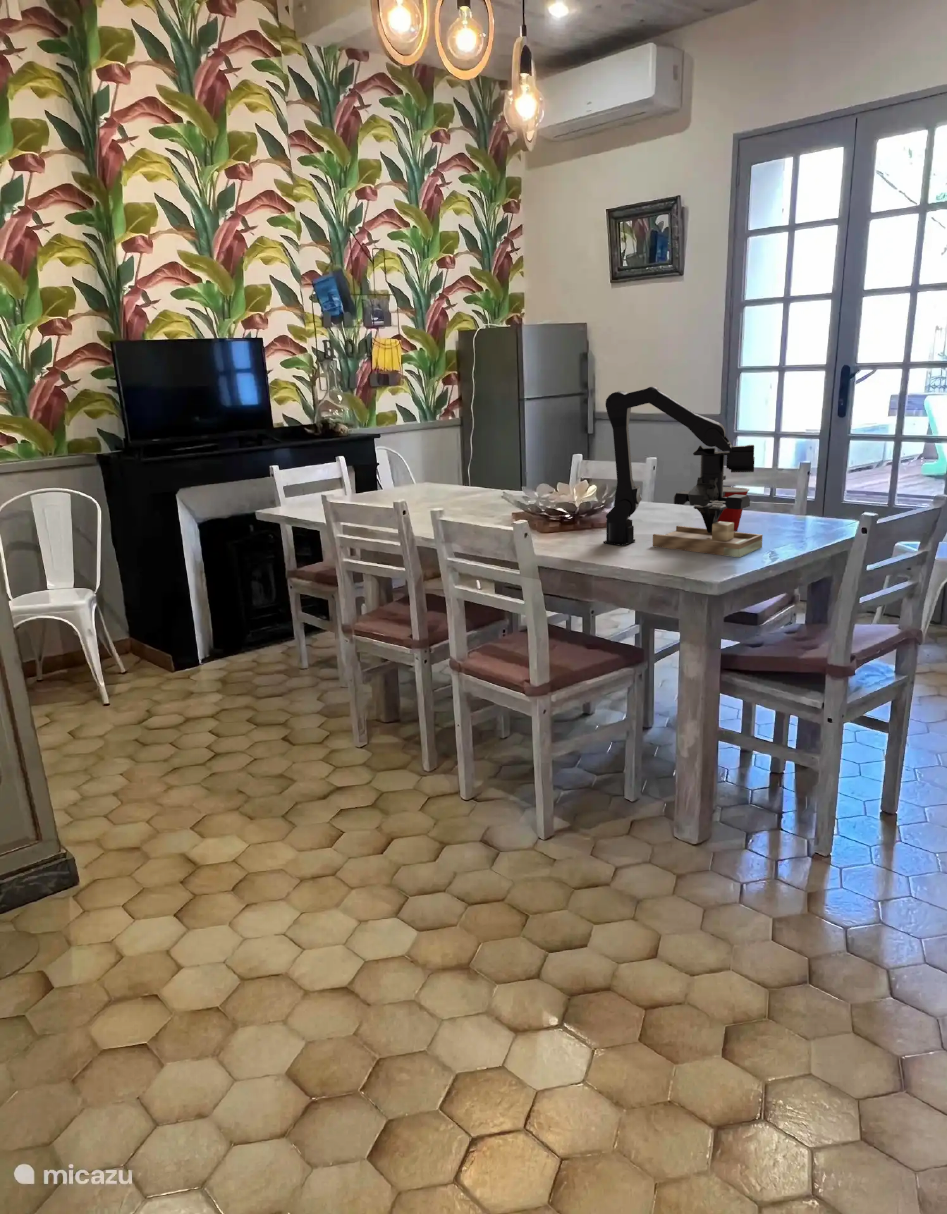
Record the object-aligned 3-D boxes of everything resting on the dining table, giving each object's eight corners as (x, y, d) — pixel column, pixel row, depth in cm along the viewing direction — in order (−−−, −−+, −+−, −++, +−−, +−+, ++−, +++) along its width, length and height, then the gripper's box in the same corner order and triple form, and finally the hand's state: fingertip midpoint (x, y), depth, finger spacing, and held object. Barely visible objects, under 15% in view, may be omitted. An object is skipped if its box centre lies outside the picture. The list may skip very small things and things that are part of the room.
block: (711, 539, 214) (712, 523, 213) (719, 536, 217) (719, 521, 216) (726, 540, 212) (727, 525, 211) (733, 537, 214) (734, 522, 213)
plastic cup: (753, 528, 234) (755, 485, 231) (737, 535, 227) (739, 491, 223) (717, 524, 241) (719, 483, 238) (700, 531, 233) (701, 488, 230)
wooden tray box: (652, 546, 219) (652, 534, 218) (677, 537, 228) (677, 525, 227) (739, 557, 203) (739, 544, 202) (761, 547, 212) (762, 534, 211)
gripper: (663, 474, 212) (662, 534, 217) (732, 479, 200) (729, 542, 205) (684, 469, 220) (683, 527, 225) (752, 472, 208) (749, 534, 213)
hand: (709, 532), depth 216 cm, fingers closed
